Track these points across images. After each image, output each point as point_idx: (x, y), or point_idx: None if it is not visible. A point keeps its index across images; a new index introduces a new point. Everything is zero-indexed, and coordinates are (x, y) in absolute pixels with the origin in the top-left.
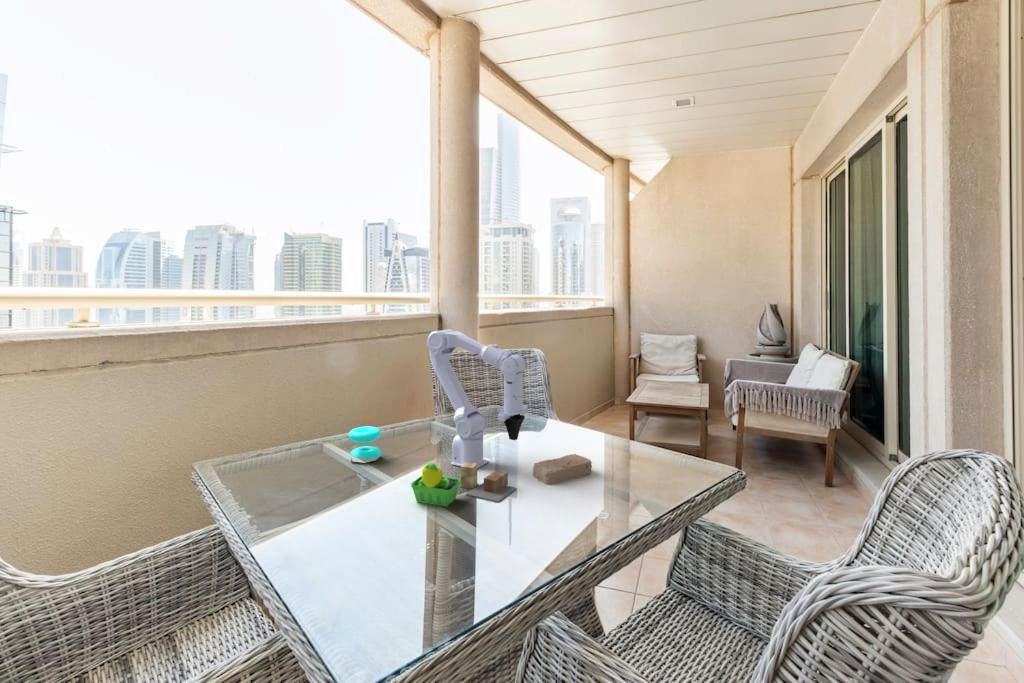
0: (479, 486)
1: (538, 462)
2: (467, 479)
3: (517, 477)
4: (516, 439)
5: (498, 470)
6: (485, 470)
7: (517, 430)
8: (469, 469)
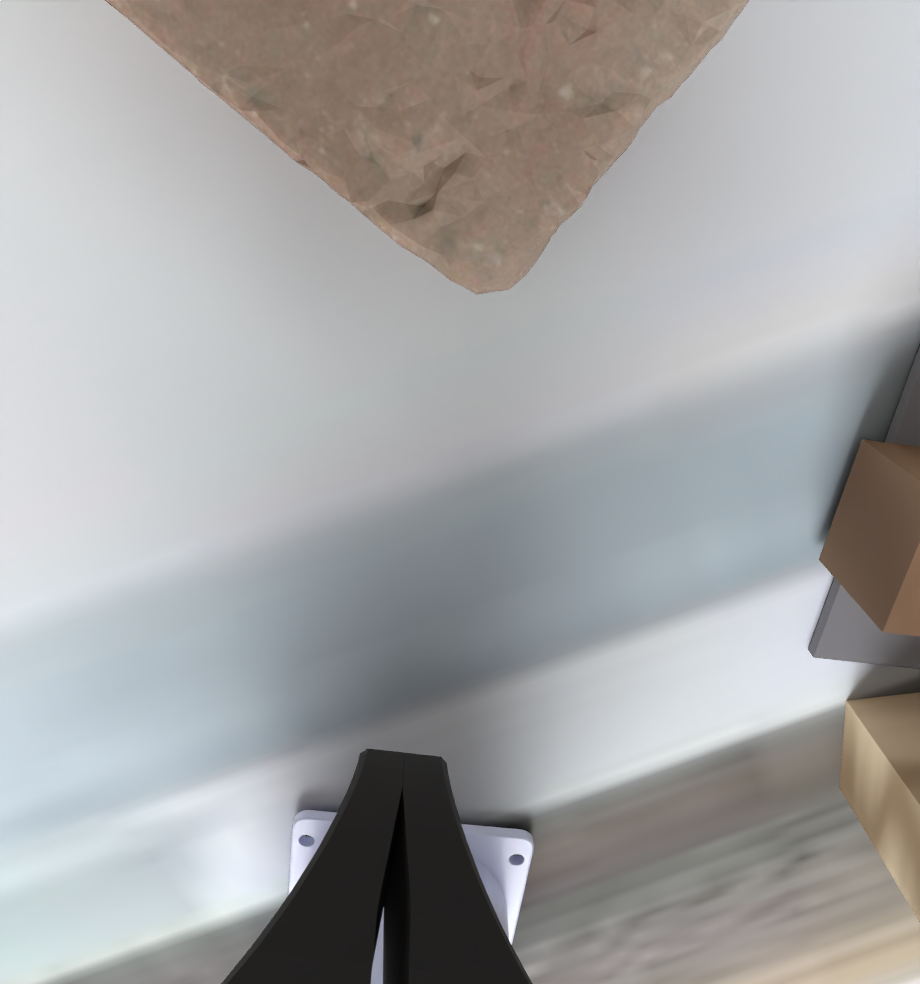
0: None
1: (420, 244)
2: None
3: (589, 427)
4: (398, 752)
5: (891, 612)
6: (511, 756)
7: (417, 890)
8: None
